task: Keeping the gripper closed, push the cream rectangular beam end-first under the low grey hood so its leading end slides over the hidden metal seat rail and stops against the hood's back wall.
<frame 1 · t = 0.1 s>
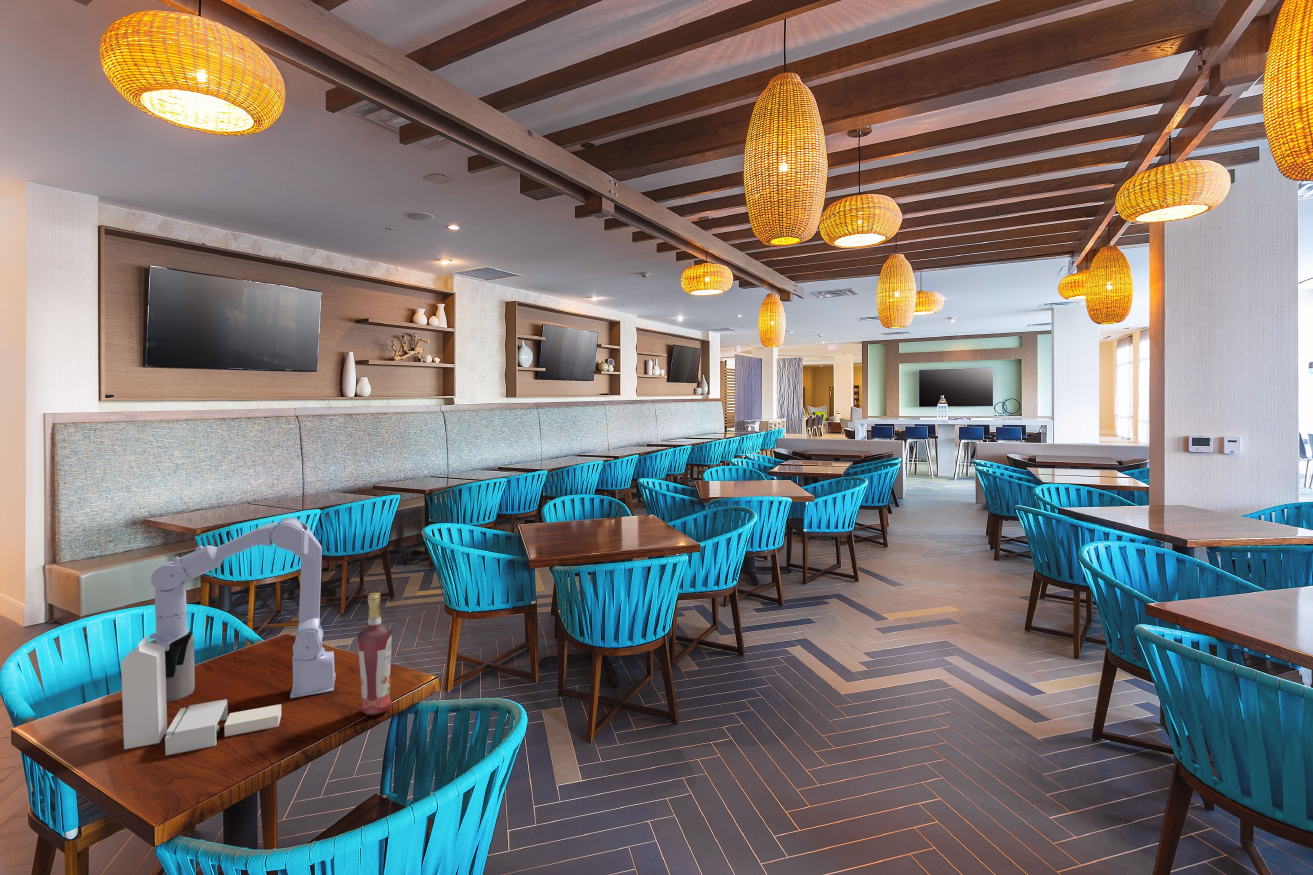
hand: (173, 670, 143), 10 cm above the table, fingers open, 7 cm apart
liquor: (376, 711, 144), on the table
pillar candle: (171, 695, 153), on the table
milk: (146, 740, 131), on the table
hood: (199, 735, 133), on the table
cream rectangular beam: (254, 725, 137), on the table
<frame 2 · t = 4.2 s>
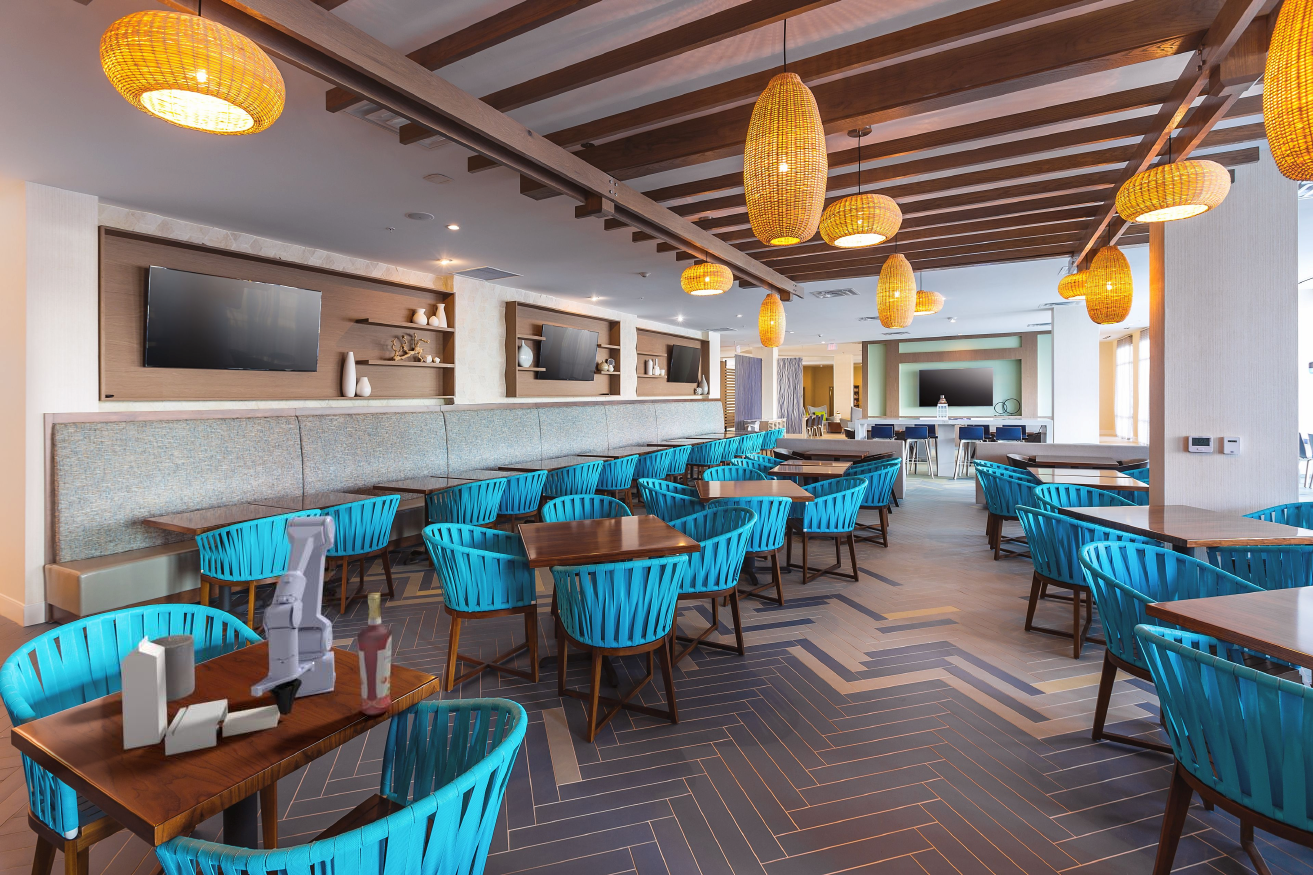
hand: (285, 713, 140), 1 cm above the table, fingers closed
cream rectangular beam: (252, 725, 137), on the table, touching gripper
everything else where it was.
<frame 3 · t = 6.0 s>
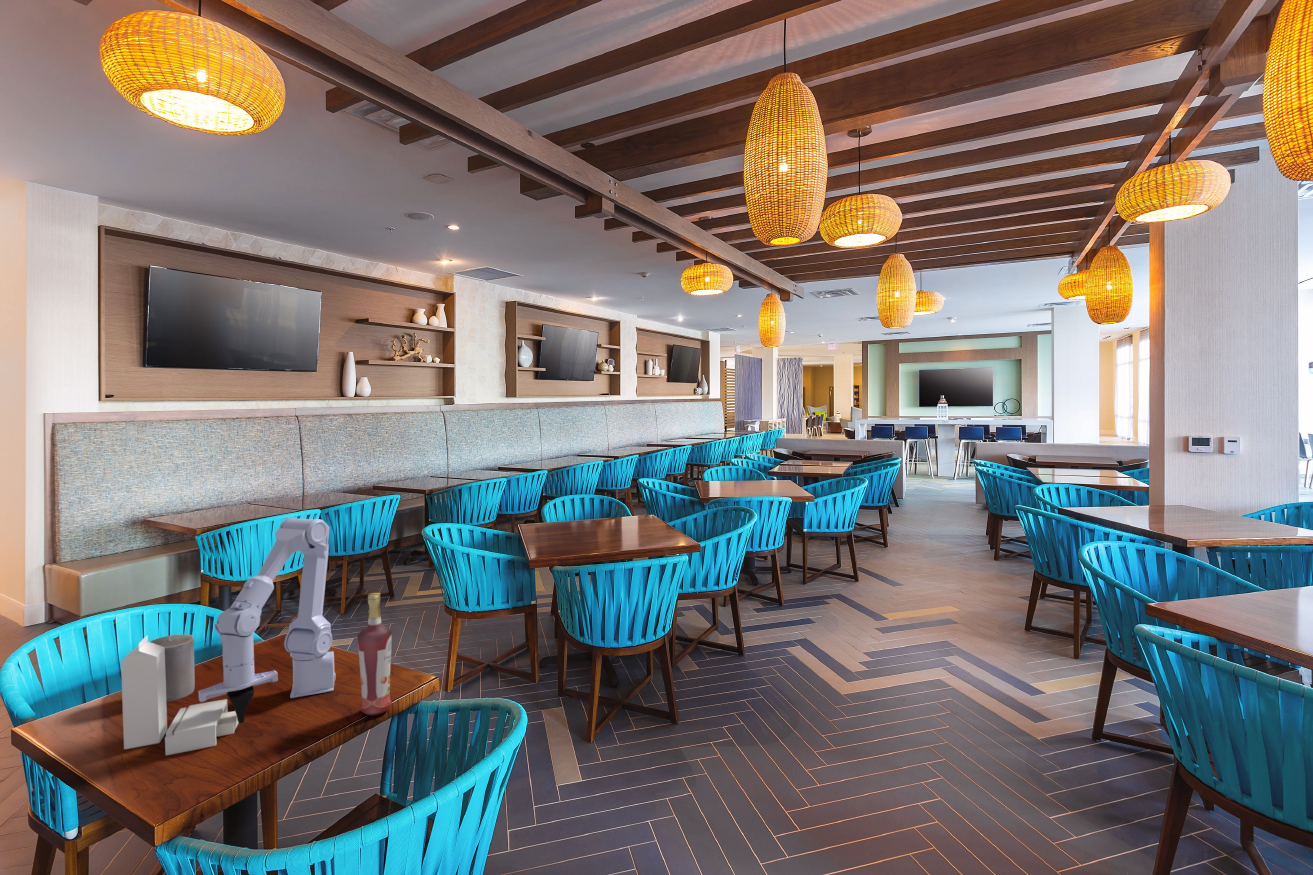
hand: (240, 721, 136), 1 cm above the table, fingers closed
cream rectangular beam: (209, 731, 135), resting in hood, touching gripper
everything else where it was.
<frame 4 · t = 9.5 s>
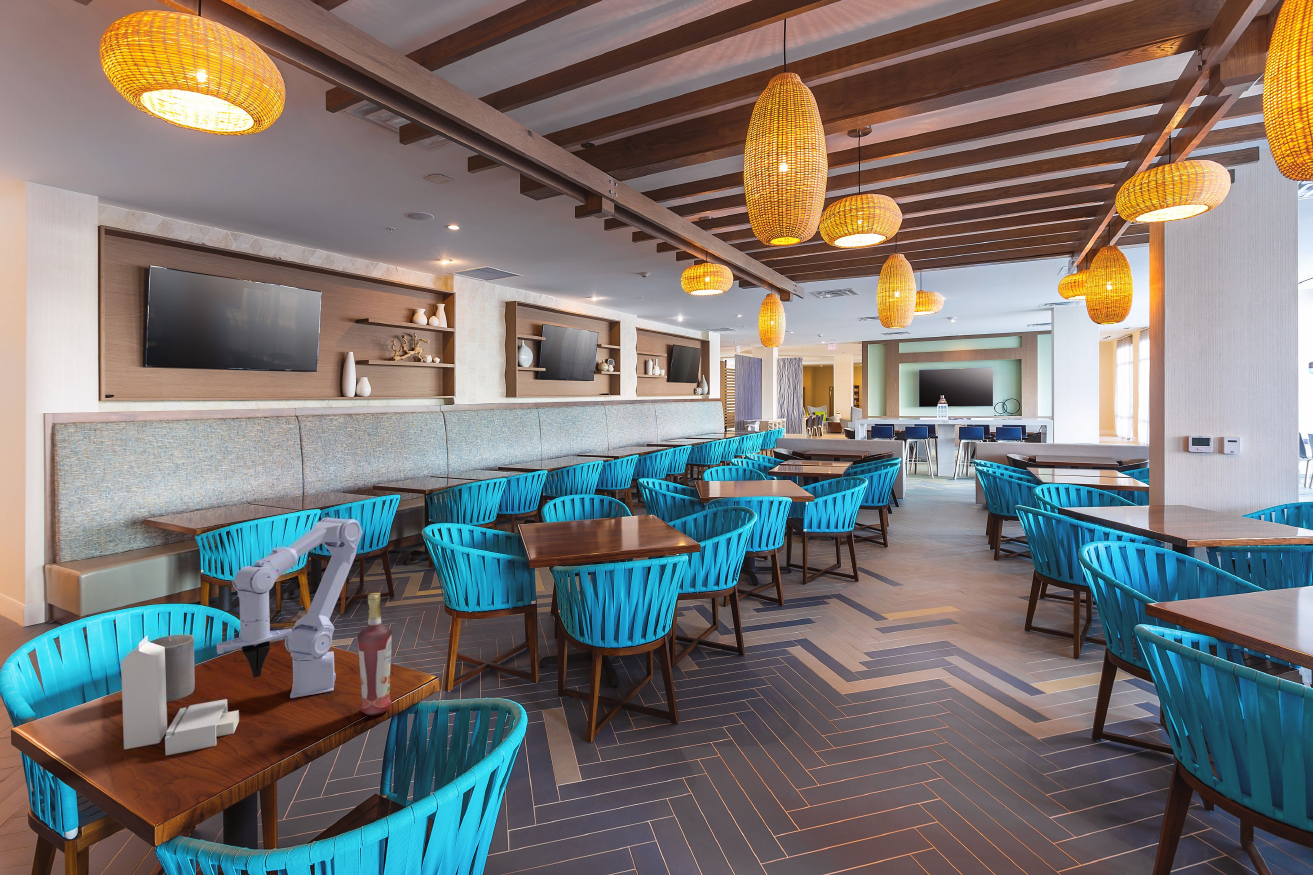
hand: (256, 675, 142), 9 cm above the table, fingers closed
cream rectangular beam: (209, 731, 135), resting in hood
everything else where it was.
at the end: cream rectangular beam 0.9 cm from the target spot, resting in hood; cream rectangular beam tilted 0°; cream rectangular beam moved 8.5 cm from its start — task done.
